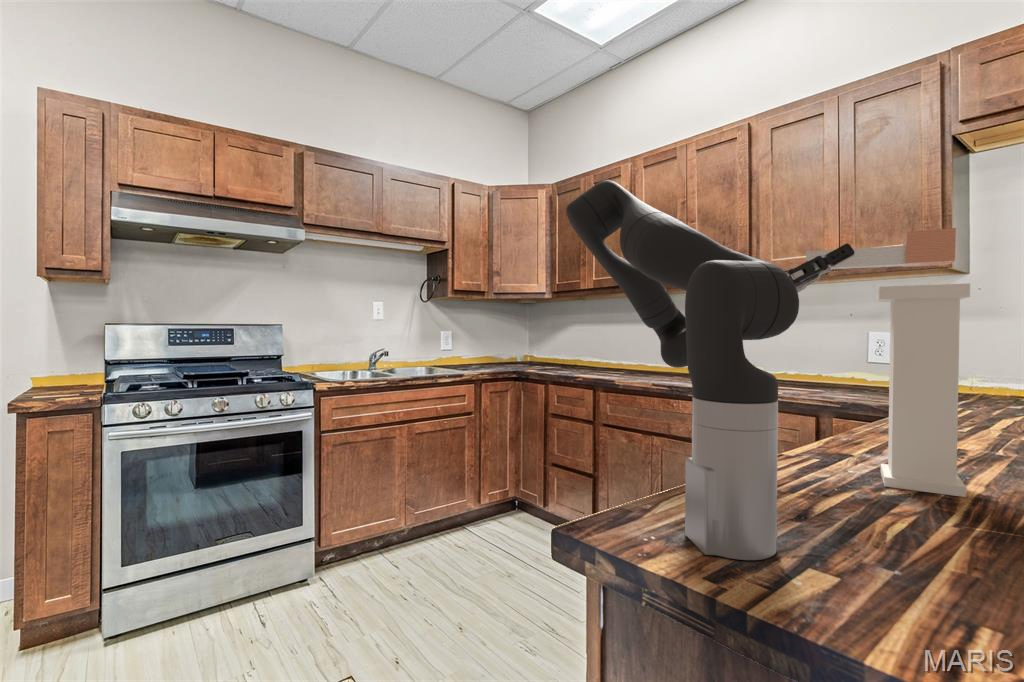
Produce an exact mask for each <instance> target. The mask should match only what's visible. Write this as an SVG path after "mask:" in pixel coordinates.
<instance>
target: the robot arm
mask: <svg viewBox="0 0 1024 682" xmlns="http://www.w3.org/2000/svg"><path fill="white" fill-rule="evenodd" d="M565 212H566V216H567V219H568V221H569V223H570V226H571V227H572V229H573V230H574V232H575V233H576V235H577V236H578V238H579V239H580V240H581V242H582V243H583V244H584V245H585V246H586V248H587V249H588V250H589V251H590V253H591V254H592V255H593V257H594V258H595V259H596V260H597V262H598V263H599V264H600V265H601V266H602V268H603V269H604V270H605V271H606V273H607V274H608V275H609V276H610V277H611V279H613V281H614V282H615V284H617V286H618V287H619V288H620V289H621V291H622V292H623V293H624V295H625V296H626V298H627V299H628V301H629V302H630V303H631V306H632V307H633V308H634V310H635V311H636V313H637V315H638V317H639V318H640V319H641V321H642V322H643V323H644V325H645V326H646V327H647V328H649V329H652V330H653V331H654V333H655V334H656V336H657V337H658V339H659V341H660V356H661V358H662V361H663V362H664V363H665V364H666V365H667V366H669V367H672V368H677V369H679V368H681V369H682V368H686V367H687V371H688V374H689V377H690V381H691V389H692V391H691V392H692V404H691V405H692V408H691V409H692V412H691V413H692V414H691V415H692V417H691V419H692V420H691V421H692V422H691V423H692V424H691V425H692V426H691V457H688V456H687V457H686V458H685V471H684V472H685V480H684V481H685V485H684V486H685V487H684V488H685V489H684V492H685V497H684V499H685V500H684V502H685V503H684V507H685V508H684V514H685V515H684V516H685V517H684V535H685V536H686V537H688V539H689V540H690V541H691V542H692V543H693V544H694V545H695V547H697V549H699V550H700V552H701V553H703V555H705V556H719V557H723V558H725V559H726V558H727V559H734V560H741V561H760V560H765V559H769V558H771V557H774V555H775V554H776V553H777V537H778V530H777V527H778V525H777V523H778V522H777V521H778V517H777V516H778V514H777V513H778V450H779V449H778V446H779V445H778V443H779V441H778V439H779V438H778V437H779V435H778V434H779V433H778V432H779V431H778V429H779V401H778V400H779V382H778V378H777V377H776V376H775V375H774V374H772V373H771V372H768V371H765V370H763V369H761V368H758V367H757V366H755V365H754V364H752V362H750V361H749V359H748V358H747V357H746V355H745V348H744V341H757V340H759V341H760V340H766V339H770V338H773V337H777V336H779V335H781V334H783V333H784V332H786V331H787V330H789V329H790V327H791V326H792V325H793V324H794V323H795V321H796V319H797V317H798V314H799V310H800V298H799V293H800V292H802V291H803V290H805V289H806V288H807V287H809V286H810V285H812V284H814V283H816V282H818V281H820V279H822V277H824V276H827V275H829V273H831V272H832V270H834V269H831V267H833V266H834V265H836V264H838V263H839V262H841V261H843V260H845V259H847V258H849V257H851V256H852V255H854V250H853V249H854V248H852V246H851V244H850V243H844V244H843V245H841V246H839V247H837V248H836V249H833V250H834V251H832V252H830V253H828V254H826V256H827V257H826V256H825V255H820V256H817V257H815V258H814V259H812V260H810V261H806V260H805V262H803V263H801V264H799V265H798V266H796V267H794V268H790V269H789V270H786V271H785V270H783V269H782V268H781V267H780V266H778V265H776V264H774V263H771V262H769V261H766V260H762V259H759V258H756V257H754V256H750V255H747V254H744V253H741V252H739V251H736V250H734V249H731V248H729V247H727V246H724V245H722V244H721V243H719V242H717V241H716V240H714V239H712V238H711V237H709V236H708V235H705V234H704V233H703V232H700V231H699V230H697V229H695V228H693V227H692V226H689V225H688V224H686V223H684V222H683V221H681V220H679V219H677V218H675V217H674V216H671V215H670V214H667V213H665V212H663V211H661V210H659V209H657V208H655V207H653V206H651V205H649V204H647V203H646V202H644V201H642V200H640V198H638V197H636V196H635V195H634V194H632V193H631V192H630V191H628V190H627V189H626V188H625V187H623V186H621V185H620V184H619V183H617V182H616V181H614V180H610V179H604V180H601V181H599V182H597V183H596V184H594V185H593V186H591V187H590V188H588V189H587V190H586V191H584V192H583V193H582V194H581V195H579V196H578V197H576V198H575V199H574V200H573V201H571V202H570V203H569V204H567V206H566V209H565ZM619 229H620V232H619V246H620V251H621V254H622V256H623V257H624V258H623V257H621V256H619V255H618V254H617V253H615V252H614V251H613V250H612V249H611V248H610V247H609V246H608V245H607V244H606V242H605V240H606V239H607V238H609V236H611V235H612V234H613V233H615V232H616V231H618V230H619ZM815 263H816V264H817V265H818V267H819V268H820V269H818V270H817V269H816V268H815V267H814V264H815ZM832 265H833V266H832ZM665 285H666V286H669V287H672V288H676V289H679V290H681V291H682V290H684V291H686V292H685V298H684V299H685V301H684V314H683V313H682V311H680V310H679V308H677V306H676V304H675V302H674V301H673V299H672V297H671V295H670V294H669V291H668V290H667V289H666V287H665Z"/></svg>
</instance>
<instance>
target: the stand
mask: <svg viewBox="0 0 1024 682" xmlns="http://www.w3.org/2000/svg"><path fill="white" fill-rule="evenodd" d="M875 292H876V295H875V297H876V298H875V301H876V303H889V302H890V312H889V313H890V316H889V317H890V318H889V322H890V323H889V324H890V325H889V374H888V376H889V381H888V383H889V384H888V385H889V386H888V387H889V389H888V390H889V391H888V438H887V439H888V441H887V442H888V443H887V444H888V446H887V447H888V450H887V451H888V452H887V463H880V475H881V479H882V482H883V483H882V484H883V487H887V488H892V489H893V488H894V489H901V490H902V489H903V490H908V491H909V490H910V491H915V492H916V491H917V492H925V493H933V494H941V495H946V496H955V497H961V498H966V497H967V486H966V485H965V483H964V482H963V481H962V480H961V478H960V477H959V475H958V430H959V429H958V428H959V427H958V421H959V420H958V419H959V415H958V414H959V375H960V374H959V371H960V370H959V369H960V368H959V365H960V364H959V361H960V319H961V317H960V315H961V313H960V310H961V309H960V308H961V305H960V304H961V300H964V299H967V298H970V297H971V283H950V284H949V283H943V284H920V285H918V284H917V285H897V286H896V285H893V286H889V285H888V286H887V285H886V286H879V287H878V288H877V289H876V290H875Z"/></svg>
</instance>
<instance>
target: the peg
mask: <svg viewBox="0 0 1024 682" xmlns="http://www.w3.org/2000/svg"><path fill="white" fill-rule="evenodd" d="M956 233H957V228H956V227H954V228H953V227H951V228H938V229H937V228H936V229H925V230H924V229H923V230H911V231H910V230H909V231H906V233H905V234H904V236H903V237H902V238H903V239H902V245H894V246H893V245H892V246H876V247H862V248H859V247H858V248H852V249H853V250H854V255H852V256H851V257H849V258H847V259H845V260H843V261H841V262H839V263H838V264H836V265H834V266H833V265H832V266H833V267H831V269H833V270H846V269H866V268H867V269H871V268H890V267H902V268H908V267H909V268H910V267H911V268H912V267H932V266H933V267H935V266H950V264H952V263H953V262H956V239H957V237H956V236H957V235H956ZM834 250H835V249H830V250H828V249H827V250H811V251H805V252H806V253H805V262H806V261H810V260H812V259H814V258H815V257H817V256H820V255H825V256H826V254H828V253H830V252H832V251H834ZM826 257H827V256H826ZM814 267H815V268H816V269H817V270H818V269H820V268H819V267H818V265H817V264H816V263H815V264H814Z"/></svg>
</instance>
